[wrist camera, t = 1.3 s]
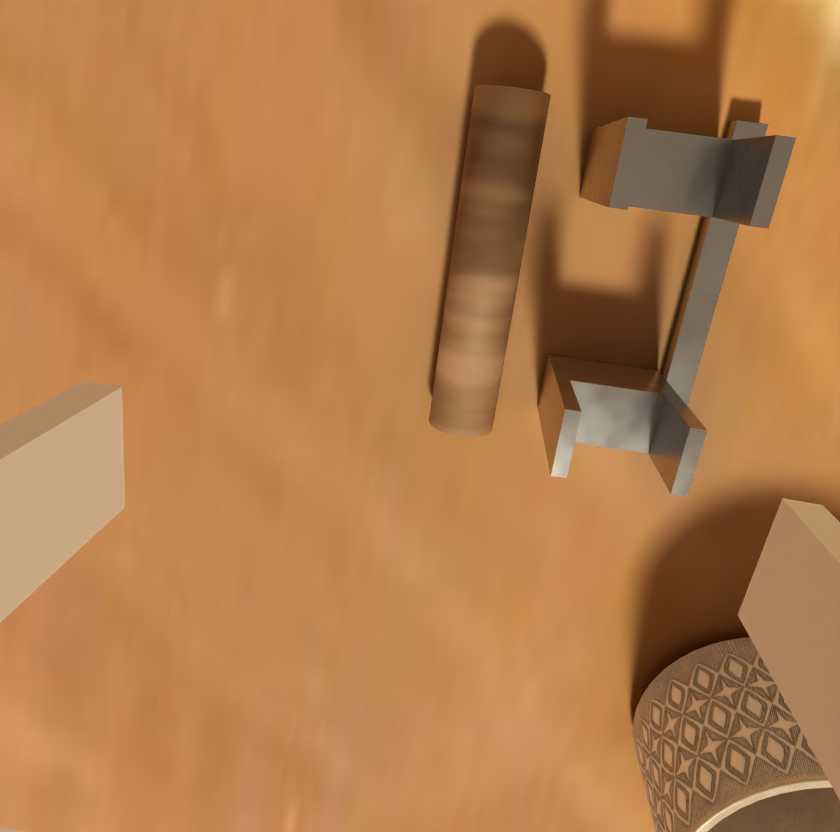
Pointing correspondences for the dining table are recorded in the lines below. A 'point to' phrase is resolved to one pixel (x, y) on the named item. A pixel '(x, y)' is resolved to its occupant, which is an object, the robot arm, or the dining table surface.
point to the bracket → (723, 212)
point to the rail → (487, 255)
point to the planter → (728, 749)
